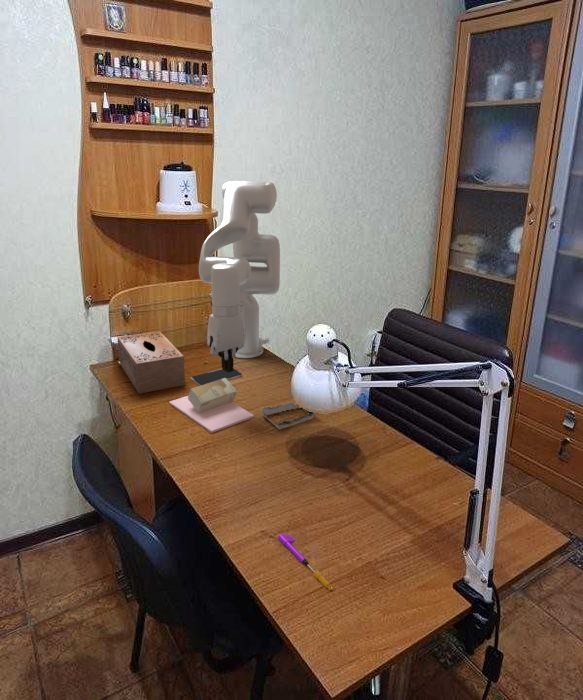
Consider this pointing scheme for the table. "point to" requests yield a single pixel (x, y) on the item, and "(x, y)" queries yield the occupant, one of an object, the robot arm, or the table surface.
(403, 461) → the table surface
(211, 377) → the smartphone
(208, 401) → the skincare box
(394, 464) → the table surface
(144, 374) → the tissue box cover
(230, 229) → the robot arm
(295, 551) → the purple and yellow tool
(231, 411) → the nail mat
